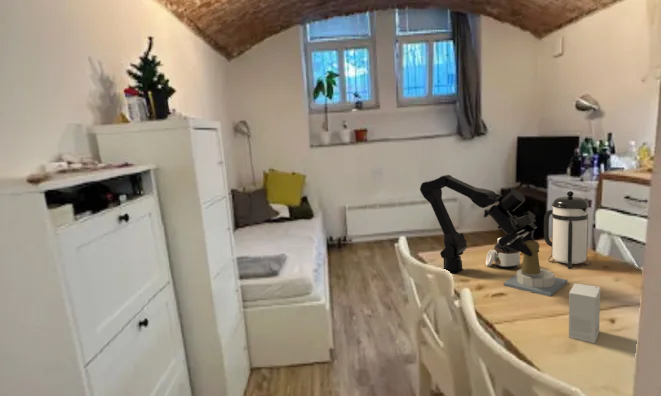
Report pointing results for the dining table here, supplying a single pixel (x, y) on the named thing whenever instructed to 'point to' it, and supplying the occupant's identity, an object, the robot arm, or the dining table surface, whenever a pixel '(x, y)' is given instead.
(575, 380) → the dining table surface
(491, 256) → the spread jar
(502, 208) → the robot arm
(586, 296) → the small box
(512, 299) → the dining table surface
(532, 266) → the cork
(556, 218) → the coffee press
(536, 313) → the dining table surface
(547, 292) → the mount
